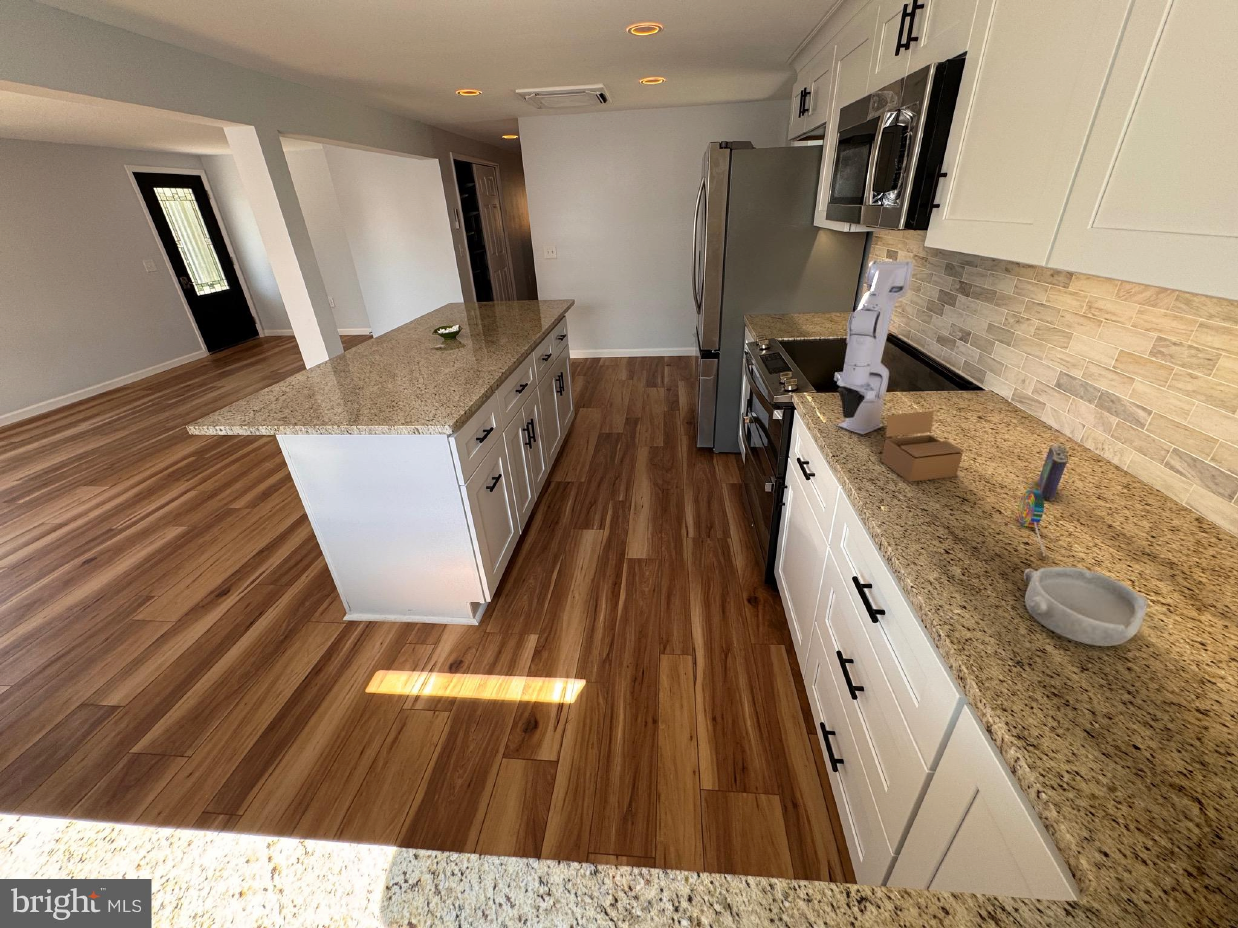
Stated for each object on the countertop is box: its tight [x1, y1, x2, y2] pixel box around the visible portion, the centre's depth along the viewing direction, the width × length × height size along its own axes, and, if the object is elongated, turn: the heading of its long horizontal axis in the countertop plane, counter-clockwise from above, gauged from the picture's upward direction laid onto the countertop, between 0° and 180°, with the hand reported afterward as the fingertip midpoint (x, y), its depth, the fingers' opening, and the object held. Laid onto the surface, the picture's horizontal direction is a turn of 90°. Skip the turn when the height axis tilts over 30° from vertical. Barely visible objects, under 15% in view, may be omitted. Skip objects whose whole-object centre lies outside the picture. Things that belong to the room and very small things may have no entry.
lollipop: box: [1017, 489, 1046, 557], centre depth 96 cm, size 7×1×15 cm
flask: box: [1036, 444, 1070, 501], centre depth 108 cm, size 9×3×11 cm, turn 147°
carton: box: [880, 434, 964, 483], centre depth 120 cm, size 11×12×7 cm
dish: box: [1023, 566, 1149, 647], centre depth 77 cm, size 14×14×5 cm
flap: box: [885, 410, 934, 438], centre depth 123 cm, size 5×12×1 cm
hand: (848, 416), depth 125 cm, fingers closed
